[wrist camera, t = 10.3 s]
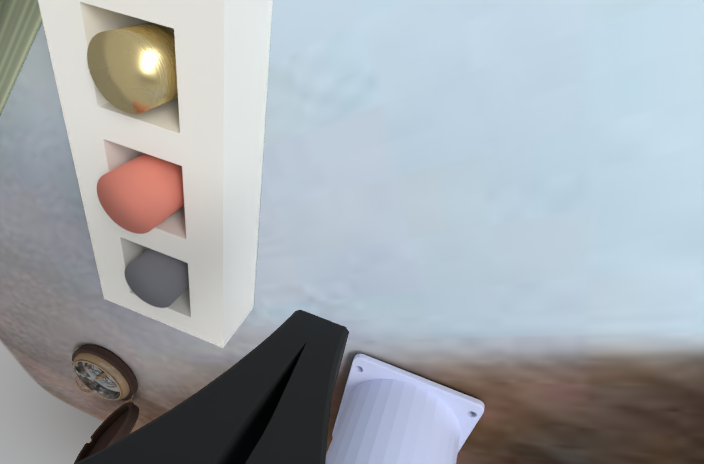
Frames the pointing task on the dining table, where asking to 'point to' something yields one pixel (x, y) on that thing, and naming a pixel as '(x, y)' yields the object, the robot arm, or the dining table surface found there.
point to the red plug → (141, 193)
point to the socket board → (176, 149)
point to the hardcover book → (15, 40)
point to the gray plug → (157, 278)
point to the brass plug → (134, 66)
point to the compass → (106, 393)
